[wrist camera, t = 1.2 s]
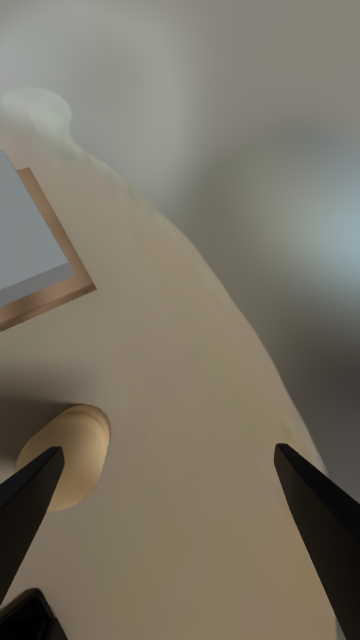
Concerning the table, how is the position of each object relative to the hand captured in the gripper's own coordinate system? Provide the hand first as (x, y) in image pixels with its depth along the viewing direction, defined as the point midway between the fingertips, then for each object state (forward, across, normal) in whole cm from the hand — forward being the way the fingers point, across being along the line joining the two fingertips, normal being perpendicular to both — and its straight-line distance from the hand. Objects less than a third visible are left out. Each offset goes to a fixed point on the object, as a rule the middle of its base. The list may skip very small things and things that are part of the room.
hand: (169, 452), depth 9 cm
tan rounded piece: (+8, +8, +6) cm, 13 cm away
